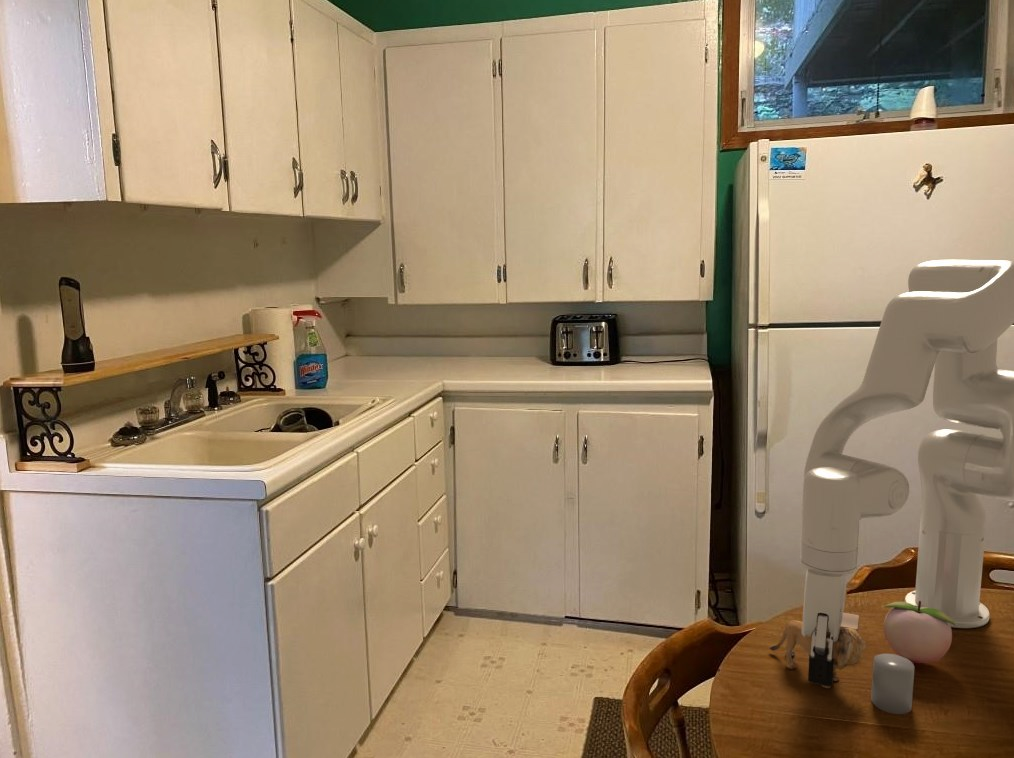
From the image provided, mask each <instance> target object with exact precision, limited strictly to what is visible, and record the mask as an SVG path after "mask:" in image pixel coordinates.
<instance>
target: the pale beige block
mask: <svg viewBox="0 0 1014 758" xmlns="http://www.w3.org/2000/svg"><path fill="white" fill-rule="evenodd" d="M859 622H860V615H859V614H854V613H848V612H844V613H843V618H842V623H841V628H840V629H842V628H852V629H855V630H856V631H857V633H858V634H859V624H860V623H859Z"/></svg>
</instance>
